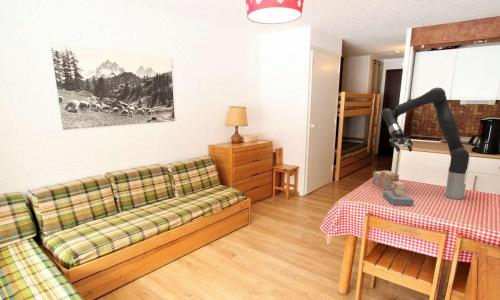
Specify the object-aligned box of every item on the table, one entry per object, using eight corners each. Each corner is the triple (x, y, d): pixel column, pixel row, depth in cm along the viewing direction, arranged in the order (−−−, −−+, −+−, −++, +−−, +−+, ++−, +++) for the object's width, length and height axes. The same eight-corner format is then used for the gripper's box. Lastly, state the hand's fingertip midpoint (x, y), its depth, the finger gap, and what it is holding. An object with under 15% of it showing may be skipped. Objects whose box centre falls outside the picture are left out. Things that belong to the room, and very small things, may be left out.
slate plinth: (401, 197, 184) (402, 191, 183) (413, 206, 168) (413, 199, 167) (382, 196, 185) (383, 190, 184) (392, 205, 169) (393, 199, 168)
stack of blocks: (372, 182, 216) (373, 167, 214) (379, 182, 217) (380, 167, 214) (389, 191, 195) (390, 175, 193) (397, 191, 196) (399, 174, 193)
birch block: (391, 193, 178) (392, 181, 176) (399, 193, 178) (400, 181, 177) (396, 196, 173) (397, 184, 172) (404, 196, 173) (405, 184, 172)
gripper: (389, 128, 188) (397, 147, 179) (408, 128, 189) (418, 147, 180) (384, 135, 194) (392, 154, 185) (403, 135, 195) (412, 154, 186)
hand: (405, 151), depth 183 cm, fingers open, 8 cm apart
